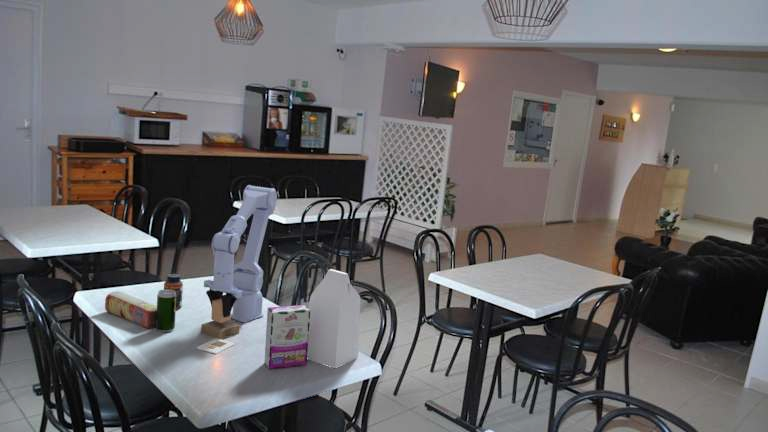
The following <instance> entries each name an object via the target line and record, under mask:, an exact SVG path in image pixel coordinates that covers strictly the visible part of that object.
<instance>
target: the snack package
mask: <svg viewBox="0 0 768 432" xmlns="http://www.w3.org/2000/svg"><path fill="white" fill-rule="evenodd" d="M104 301H105V302H104V309H105V311H106V312H107V313H110V314H112V315H114V316H117V317H120V318H123V319H125V320H128V321H130V322H133V323H135V324H137V325H140V326H142V327H144V328H146V329H150V330H151V329H154V328H156V316H157V304H156V305H155V304H153V303H150V302H148V301H145V300H143V299H140V298H138V297H134V296H132V295H130V294H128V293H125V292H124V291H119V290H118V291H117V290H116V291H112V292H110V293H108V294H107V295H106V297H105V300H104Z"/></svg>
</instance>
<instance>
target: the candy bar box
mask: <svg viewBox="0 0 768 432" xmlns="http://www.w3.org/2000/svg"><path fill="white" fill-rule="evenodd" d="M266 312H267V313H266V314H267V315H266V330H265V331H266V332H265V344H264V345H265V347H264V364H265V365H266V367H267V369H269V370H276V369H284V368H285V367H286V368H294V367H300V366H307V364H308V359H307V352H308V338H309V325H310V309H309V306H308V307H307V305H305V304H300V305H285V306H271V307H267V311H266Z"/></svg>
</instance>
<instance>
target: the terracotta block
mask: <svg viewBox="0 0 768 432" xmlns="http://www.w3.org/2000/svg"><path fill="white" fill-rule="evenodd" d="M231 314H232V312H231V313H230V316H228V317H223V305H222V300H221V298H220V299H217V300H213V301H212V306H211V316H210V317H211V321H217V322H219V323H222V322H225V321H231V318H230V317H231Z"/></svg>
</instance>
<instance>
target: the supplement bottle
mask: <svg viewBox="0 0 768 432" xmlns="http://www.w3.org/2000/svg"><path fill="white" fill-rule="evenodd" d="M166 277H167V278H166V279H167V280H165V282H164V283H163V290H164V289H170V290H174V291H175V292H176V310H175V311H177V310H180V309H181V308H182V305H183V285H184V284H183V281H182V280H181V275H180V274H179V273H178V274H177V273H170V274H167V276H166Z"/></svg>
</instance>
